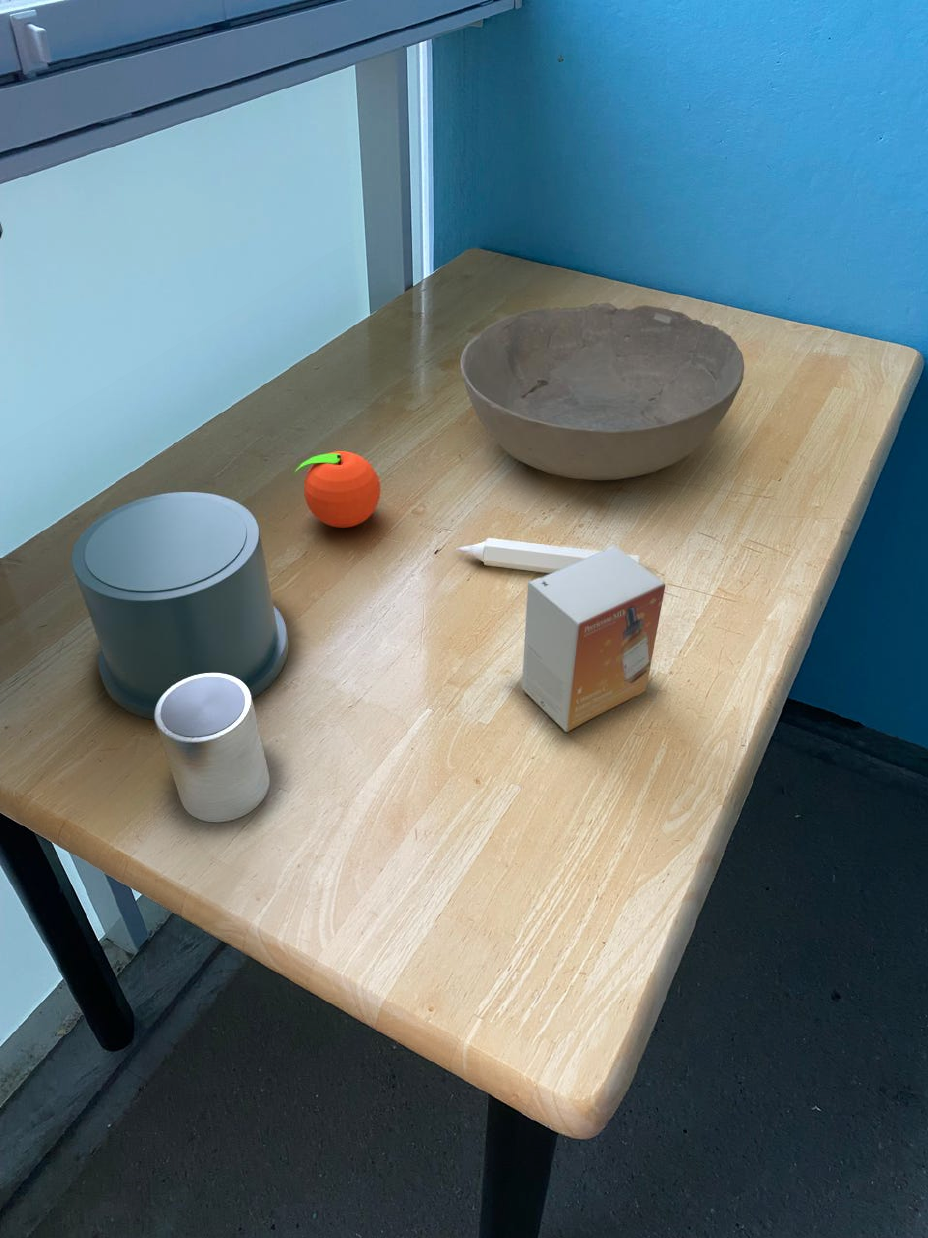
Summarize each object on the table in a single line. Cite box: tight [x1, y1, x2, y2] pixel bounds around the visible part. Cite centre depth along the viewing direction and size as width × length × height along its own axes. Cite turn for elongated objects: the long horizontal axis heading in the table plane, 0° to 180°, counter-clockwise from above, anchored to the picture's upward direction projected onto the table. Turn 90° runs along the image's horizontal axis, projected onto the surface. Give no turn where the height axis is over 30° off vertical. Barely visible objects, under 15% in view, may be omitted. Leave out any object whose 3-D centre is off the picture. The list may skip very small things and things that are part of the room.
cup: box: [154, 673, 271, 823], centre depth 61 cm, size 6×6×8 cm
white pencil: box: [454, 537, 640, 574], centre depth 81 cm, size 3×2×16 cm
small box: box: [521, 544, 666, 733], centre depth 67 cm, size 8×6×10 cm
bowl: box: [460, 302, 745, 481], centre depth 95 cm, size 28×28×10 cm
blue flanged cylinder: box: [71, 491, 290, 721], centre depth 70 cm, size 14×14×11 cm
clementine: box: [291, 450, 381, 529], centre depth 85 cm, size 8×7×7 cm
